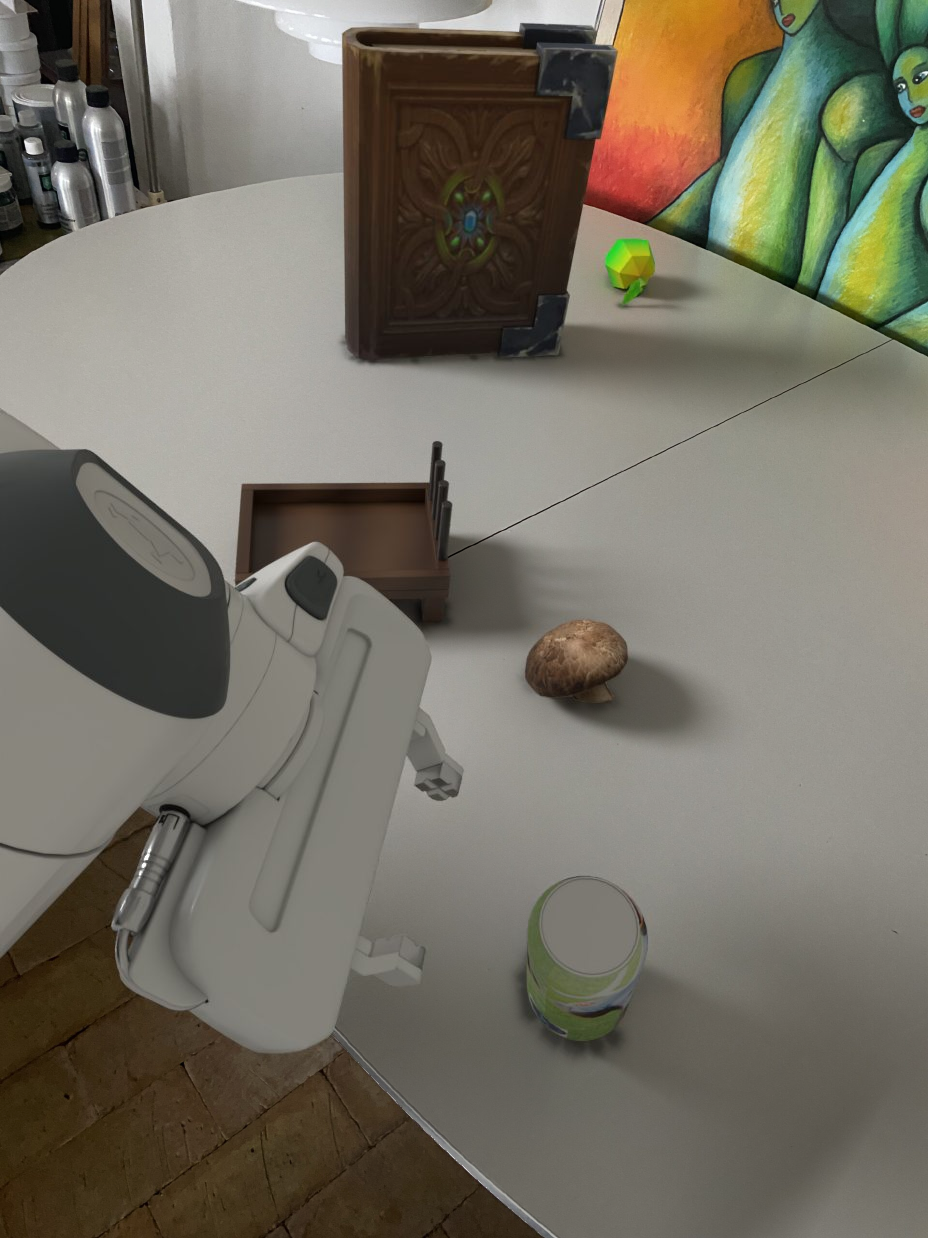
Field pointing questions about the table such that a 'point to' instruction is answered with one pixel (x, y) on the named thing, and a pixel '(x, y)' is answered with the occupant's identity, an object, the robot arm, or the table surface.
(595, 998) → the beverage can
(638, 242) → the apple
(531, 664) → the mushroom
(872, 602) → the table surface
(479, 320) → the decorative book
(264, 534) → the tray
